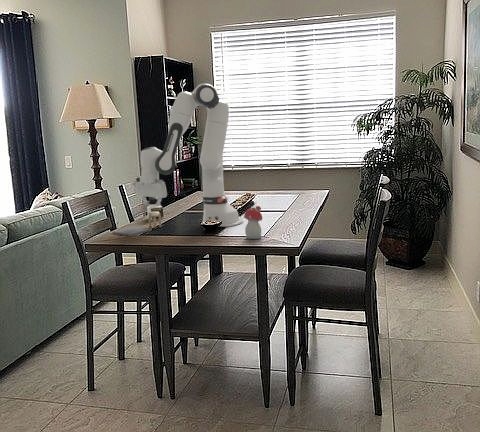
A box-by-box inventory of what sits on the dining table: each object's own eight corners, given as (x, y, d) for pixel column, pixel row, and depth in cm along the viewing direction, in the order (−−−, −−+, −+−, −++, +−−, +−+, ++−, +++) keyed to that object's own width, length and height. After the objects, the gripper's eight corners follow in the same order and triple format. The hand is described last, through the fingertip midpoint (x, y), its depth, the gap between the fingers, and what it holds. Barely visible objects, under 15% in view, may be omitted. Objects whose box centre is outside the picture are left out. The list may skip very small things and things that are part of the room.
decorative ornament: (266, 238, 251) (264, 205, 248) (254, 240, 247) (252, 207, 244) (253, 235, 258) (251, 203, 256) (242, 237, 255) (240, 205, 252)
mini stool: (162, 226, 290) (161, 211, 289) (155, 228, 286) (153, 213, 285) (155, 225, 294) (154, 211, 292) (147, 228, 290) (146, 213, 288)
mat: (151, 230, 283) (151, 228, 283) (130, 236, 272) (130, 234, 272) (133, 228, 292) (133, 226, 292) (112, 233, 281) (112, 231, 281)
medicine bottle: (151, 220, 309) (149, 199, 307) (147, 218, 316) (145, 198, 313) (163, 218, 313) (162, 197, 310) (159, 217, 319) (157, 196, 317)
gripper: (169, 179, 281) (170, 206, 284) (141, 177, 294) (143, 202, 296) (159, 180, 276) (161, 207, 279) (132, 178, 289) (134, 204, 292)
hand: (152, 205), depth 288 cm, fingers open, 8 cm apart
